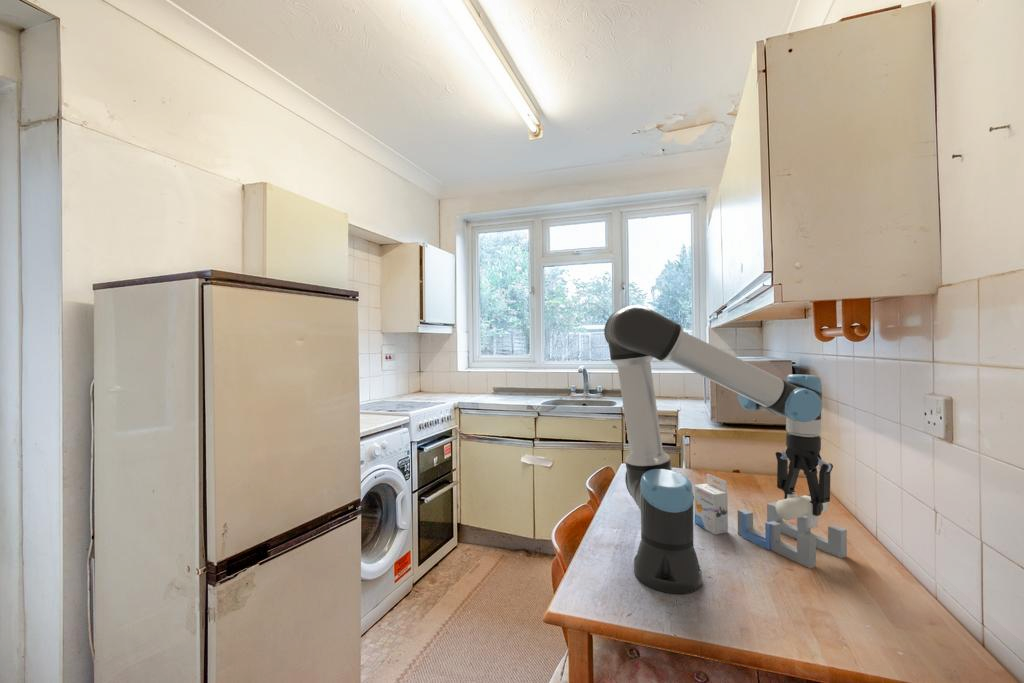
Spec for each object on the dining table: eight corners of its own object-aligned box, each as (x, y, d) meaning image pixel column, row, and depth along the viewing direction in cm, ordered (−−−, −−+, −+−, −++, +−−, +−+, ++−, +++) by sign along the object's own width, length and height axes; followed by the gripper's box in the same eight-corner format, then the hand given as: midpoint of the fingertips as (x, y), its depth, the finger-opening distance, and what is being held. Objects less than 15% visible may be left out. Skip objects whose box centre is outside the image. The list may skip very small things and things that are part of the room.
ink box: (693, 523, 129) (693, 474, 129) (707, 520, 130) (706, 472, 130) (714, 535, 121) (714, 483, 121) (728, 532, 122) (728, 481, 122)
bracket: (807, 568, 103) (807, 540, 103) (736, 534, 121) (736, 510, 121) (848, 555, 108) (848, 529, 108) (774, 524, 127) (774, 502, 127)
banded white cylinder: (793, 523, 106) (793, 503, 106) (775, 515, 111) (775, 496, 111) (828, 515, 111) (829, 496, 111) (809, 508, 116) (809, 490, 116)
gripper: (850, 440, 104) (848, 534, 104) (780, 426, 121) (779, 508, 121) (830, 442, 101) (828, 539, 101) (761, 427, 118) (760, 511, 118)
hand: (801, 522), depth 111 cm, fingers closed on banded white cylinder, 5 cm apart
